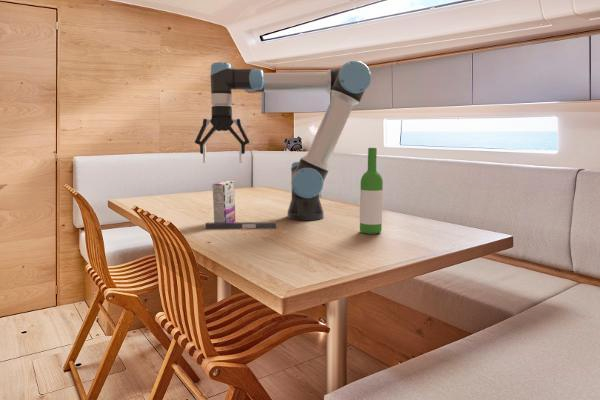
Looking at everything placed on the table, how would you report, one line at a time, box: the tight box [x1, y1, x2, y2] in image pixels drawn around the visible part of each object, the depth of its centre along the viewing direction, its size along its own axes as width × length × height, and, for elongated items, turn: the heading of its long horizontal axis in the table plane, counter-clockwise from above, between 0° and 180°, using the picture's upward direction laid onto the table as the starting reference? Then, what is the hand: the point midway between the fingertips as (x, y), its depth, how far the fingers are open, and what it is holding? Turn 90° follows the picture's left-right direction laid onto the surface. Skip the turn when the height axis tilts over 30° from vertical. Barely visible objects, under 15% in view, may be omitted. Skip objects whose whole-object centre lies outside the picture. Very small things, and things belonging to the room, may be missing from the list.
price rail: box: [205, 221, 277, 230], centre depth 173 cm, size 26×2×2 cm, turn 92°
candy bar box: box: [212, 180, 236, 223], centre depth 179 cm, size 11×5×16 cm, turn 168°
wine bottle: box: [359, 147, 384, 235], centre depth 164 cm, size 8×8×30 cm
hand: (222, 162), depth 177 cm, fingers open, 13 cm apart
